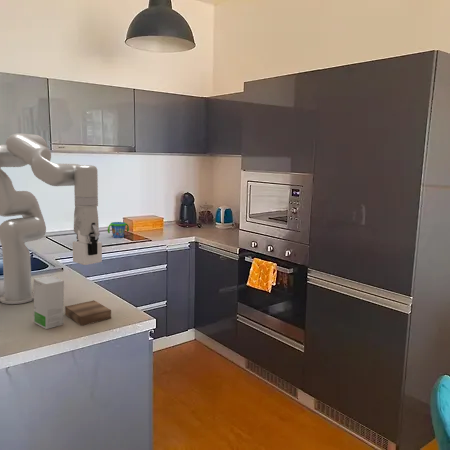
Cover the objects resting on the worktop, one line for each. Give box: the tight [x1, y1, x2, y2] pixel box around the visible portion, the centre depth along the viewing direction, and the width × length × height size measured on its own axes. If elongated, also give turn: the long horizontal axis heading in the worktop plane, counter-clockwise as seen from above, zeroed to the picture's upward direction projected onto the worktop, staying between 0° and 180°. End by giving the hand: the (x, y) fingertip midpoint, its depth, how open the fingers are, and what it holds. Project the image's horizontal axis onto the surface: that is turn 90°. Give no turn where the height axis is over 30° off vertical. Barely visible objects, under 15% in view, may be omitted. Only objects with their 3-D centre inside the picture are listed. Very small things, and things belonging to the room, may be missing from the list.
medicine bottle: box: [72, 230, 103, 266], centre depth 148 cm, size 7×7×12 cm
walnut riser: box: [64, 300, 112, 326], centre depth 152 cm, size 13×11×3 cm
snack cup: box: [107, 221, 130, 239], centre depth 300 cm, size 16×10×10 cm
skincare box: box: [33, 274, 65, 330], centre depth 143 cm, size 8×7×16 cm
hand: (87, 252), depth 148 cm, fingers closed on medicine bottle, 7 cm apart
